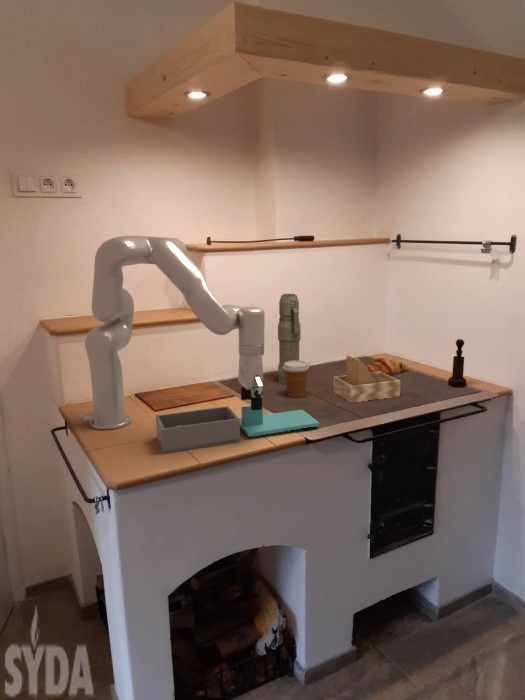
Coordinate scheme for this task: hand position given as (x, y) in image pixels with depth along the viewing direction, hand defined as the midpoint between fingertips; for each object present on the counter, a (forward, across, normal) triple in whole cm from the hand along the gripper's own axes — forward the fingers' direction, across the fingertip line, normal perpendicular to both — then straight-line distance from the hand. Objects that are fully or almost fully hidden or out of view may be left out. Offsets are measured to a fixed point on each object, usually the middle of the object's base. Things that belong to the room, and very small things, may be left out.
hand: (251, 404), depth 159 cm
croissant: (+8, -40, +72) cm, 83 cm away
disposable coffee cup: (+8, -27, +26) cm, 38 cm away
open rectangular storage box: (+7, -18, +50) cm, 54 cm away
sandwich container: (+8, -17, +51) cm, 55 cm away
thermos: (+8, -43, +30) cm, 53 cm away
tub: (+9, +1, -17) cm, 19 cm away
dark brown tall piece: (+7, -15, +88) cm, 90 cm away
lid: (+8, 0, +8) cm, 12 cm away
